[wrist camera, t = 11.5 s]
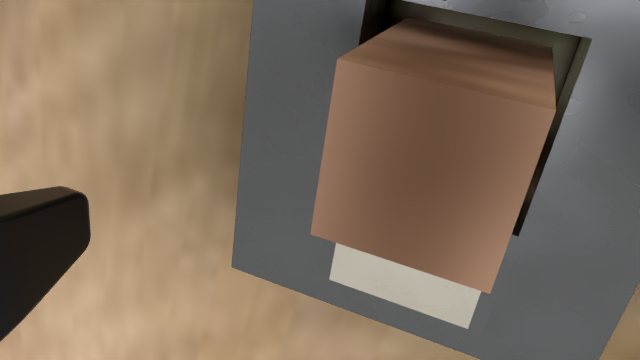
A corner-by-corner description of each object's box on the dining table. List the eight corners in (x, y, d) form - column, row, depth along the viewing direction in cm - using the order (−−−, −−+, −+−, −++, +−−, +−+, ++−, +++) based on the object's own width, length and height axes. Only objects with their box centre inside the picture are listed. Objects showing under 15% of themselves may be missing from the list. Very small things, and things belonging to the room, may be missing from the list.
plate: (823, -161, 12) (887, -183, 10) (575, 346, 20) (580, 400, 17) (309, -214, 16) (269, -240, 14) (260, 236, 23) (229, 269, 21)
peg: (551, 46, 16) (556, 110, 10) (507, 177, 18) (490, 293, 12) (408, 17, 17) (337, 58, 11) (382, 143, 19) (310, 234, 14)
